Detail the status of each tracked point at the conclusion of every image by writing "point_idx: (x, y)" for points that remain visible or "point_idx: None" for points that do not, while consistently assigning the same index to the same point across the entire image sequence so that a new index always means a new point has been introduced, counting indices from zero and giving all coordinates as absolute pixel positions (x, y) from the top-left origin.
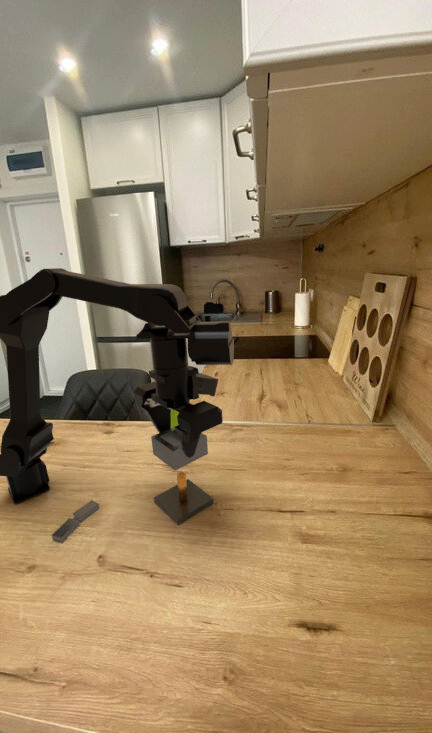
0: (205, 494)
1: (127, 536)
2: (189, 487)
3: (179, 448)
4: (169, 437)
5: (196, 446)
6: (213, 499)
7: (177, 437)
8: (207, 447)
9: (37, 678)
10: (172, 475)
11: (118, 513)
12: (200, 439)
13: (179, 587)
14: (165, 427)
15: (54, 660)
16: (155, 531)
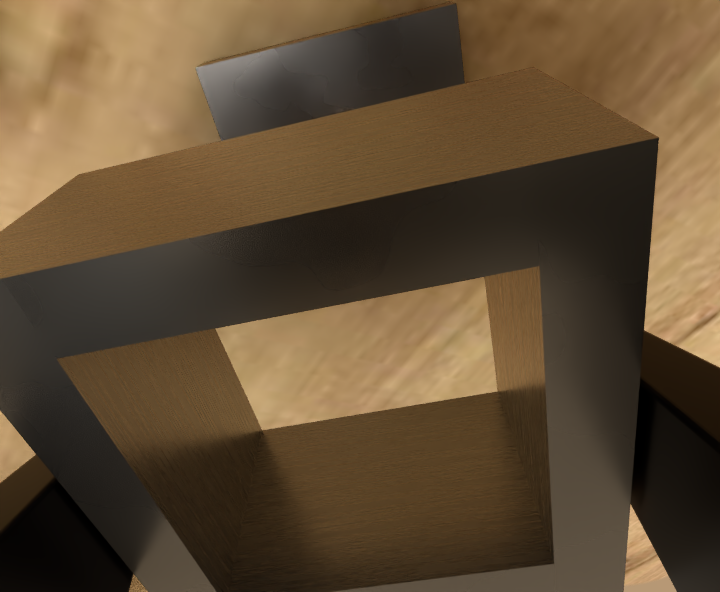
0: (394, 33)
1: (411, 394)
2: (281, 96)
3: (624, 544)
4: (192, 461)
5: (704, 364)
6: (455, 3)
7: (162, 348)
8: (563, 84)
9: (643, 559)
10: (88, 122)
11: (278, 396)
12: (639, 274)
13: (714, 320)
14: (73, 571)
15: (635, 542)
16: (448, 316)
